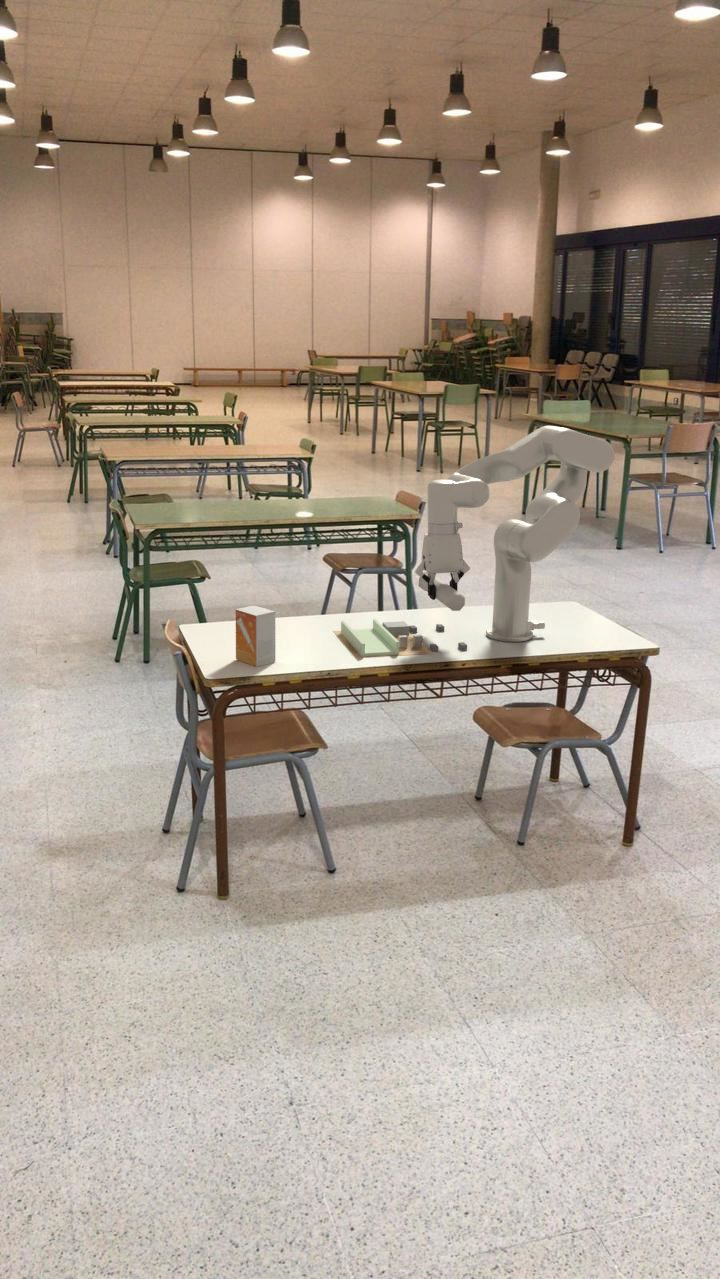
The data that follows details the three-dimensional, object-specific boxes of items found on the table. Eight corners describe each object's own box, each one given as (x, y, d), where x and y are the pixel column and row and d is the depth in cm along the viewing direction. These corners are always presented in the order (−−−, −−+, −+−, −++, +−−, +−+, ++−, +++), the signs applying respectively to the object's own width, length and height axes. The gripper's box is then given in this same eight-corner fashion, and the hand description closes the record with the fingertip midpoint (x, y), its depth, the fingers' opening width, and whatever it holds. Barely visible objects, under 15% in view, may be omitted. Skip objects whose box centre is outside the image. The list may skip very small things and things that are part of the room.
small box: (235, 660, 268) (234, 608, 264) (255, 655, 272) (254, 604, 269) (256, 667, 262) (256, 615, 259) (276, 662, 267) (276, 611, 263)
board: (404, 631, 296) (404, 627, 295) (433, 658, 273) (433, 653, 272) (333, 635, 291) (333, 631, 291) (355, 662, 268) (356, 658, 267)
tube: (471, 596, 270) (439, 575, 294) (453, 590, 269) (422, 569, 292) (463, 616, 271) (432, 593, 295) (445, 610, 270) (415, 587, 293)
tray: (375, 631, 291) (376, 619, 291) (398, 654, 271) (399, 641, 270) (341, 632, 289) (341, 620, 288) (361, 656, 269) (361, 643, 268)
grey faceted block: (403, 630, 293) (404, 621, 292) (409, 635, 288) (409, 626, 288) (382, 631, 291) (382, 622, 291) (387, 636, 287) (387, 627, 286)
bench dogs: (420, 645, 279) (420, 634, 278) (422, 647, 278) (422, 636, 277) (398, 646, 278) (398, 635, 277) (399, 648, 276) (400, 637, 275)
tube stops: (441, 633, 296) (441, 624, 295) (466, 654, 277) (467, 645, 276) (408, 634, 293) (409, 625, 293) (432, 656, 274) (432, 646, 274)
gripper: (469, 523, 282) (468, 591, 287) (406, 528, 278) (407, 597, 283) (479, 529, 275) (478, 598, 280) (415, 534, 271) (415, 604, 277)
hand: (442, 597), depth 282 cm, fingers closed on tube, 4 cm apart
